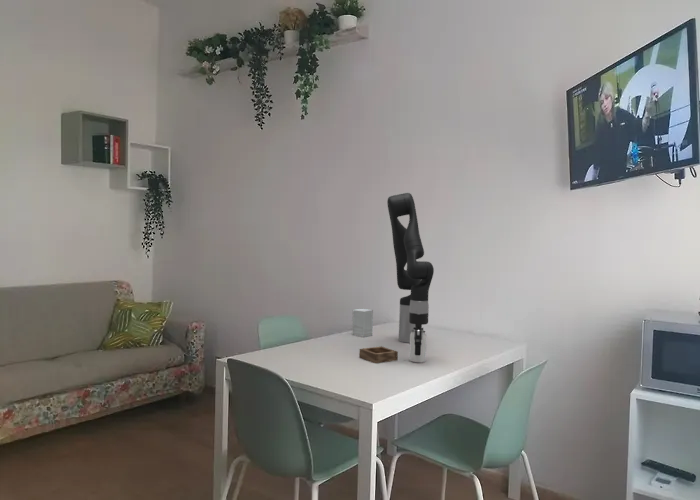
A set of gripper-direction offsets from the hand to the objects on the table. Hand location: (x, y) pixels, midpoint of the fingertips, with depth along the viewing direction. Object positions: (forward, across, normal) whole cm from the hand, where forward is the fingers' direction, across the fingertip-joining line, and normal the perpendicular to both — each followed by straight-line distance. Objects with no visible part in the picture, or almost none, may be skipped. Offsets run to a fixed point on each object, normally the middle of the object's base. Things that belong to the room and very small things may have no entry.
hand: (417, 353), depth 223 cm
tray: (+3, 0, -16) cm, 16 cm away
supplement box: (+3, -48, -27) cm, 55 cm away
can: (+3, 0, 0) cm, 3 cm away
